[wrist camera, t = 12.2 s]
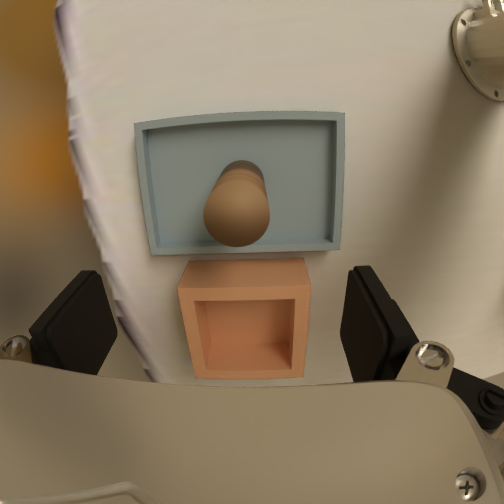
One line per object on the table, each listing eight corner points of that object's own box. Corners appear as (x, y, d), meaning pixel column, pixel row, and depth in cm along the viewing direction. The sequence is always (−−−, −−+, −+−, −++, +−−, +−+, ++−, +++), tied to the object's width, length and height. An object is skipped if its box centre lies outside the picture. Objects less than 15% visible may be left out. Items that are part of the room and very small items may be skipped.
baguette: (218, 161, 29) (200, 185, 19) (263, 159, 29) (269, 182, 19) (221, 203, 31) (205, 248, 21) (264, 202, 31) (270, 246, 21)
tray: (142, 122, 29) (133, 123, 26) (338, 113, 28) (344, 112, 26) (157, 245, 34) (151, 255, 32) (334, 240, 34) (339, 250, 32)
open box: (188, 260, 35) (177, 287, 30) (303, 258, 35) (311, 285, 29) (202, 346, 41) (195, 378, 35) (298, 344, 40) (303, 377, 35)
